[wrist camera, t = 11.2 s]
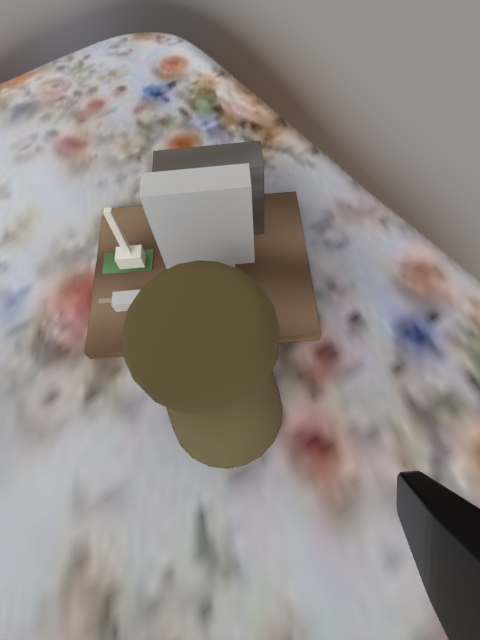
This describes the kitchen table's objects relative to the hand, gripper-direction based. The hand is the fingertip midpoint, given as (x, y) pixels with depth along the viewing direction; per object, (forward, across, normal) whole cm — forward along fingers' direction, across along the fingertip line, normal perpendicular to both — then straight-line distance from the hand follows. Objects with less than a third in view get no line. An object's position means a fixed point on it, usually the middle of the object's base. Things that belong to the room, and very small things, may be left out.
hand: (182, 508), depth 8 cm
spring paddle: (+16, +2, 0) cm, 16 cm away
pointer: (+19, +5, -3) cm, 19 cm away
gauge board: (+19, +1, -2) cm, 19 cm away
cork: (+13, 0, +5) cm, 14 cm away
